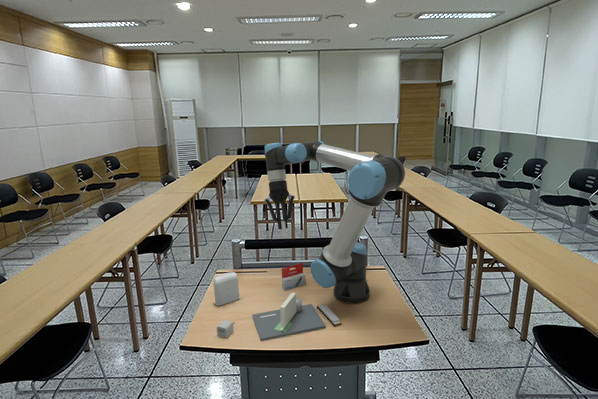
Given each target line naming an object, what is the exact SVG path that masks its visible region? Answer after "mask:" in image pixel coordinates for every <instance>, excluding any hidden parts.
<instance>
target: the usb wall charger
mask: <svg viewBox="0 0 598 399" xmlns="http://www.w3.org/2000/svg"><path fill="white" fill-rule="evenodd" d="M234 324H235V321H231V320H226V319H223V320H222V321H221V323H219V324H218V325H217V326H216V333H217V334H216V335H217V337H219V338H225V339H227V338H228V337H229V336H230V334H232V332H233V331H234Z"/></svg>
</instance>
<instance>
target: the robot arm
mask: <svg viewBox="0 0 598 399" xmlns="http://www.w3.org/2000/svg"><path fill="white" fill-rule="evenodd" d="M264 157H265V158H264V159H265V163H266V173H267V180H268V181H269V182H268V189H269V193H268V197H267V198H264V199H263V201H264V202H265V204H266V205H267V207H268V208H267V209H268V211H269V213H270V216H271V219H272V221H273V222H274V221H275V222H277V229H278V230H280V234H281V238H287V230H286V229H288V228H289V226H288V225H289V224H288V221H289V220H290V219H292V212H293V204H294V200H295V198H296V197H295V195H292V194H290V192H289V190H288V182H287V180H286V179H287V174H286V165H292V164H299V163H302V162H307V161H308V162H309V161H314V162H318V163H322V164H326V165H329V166H333V167H336V168H340V169H343V170H347V171H349V173H348V178H347V184H348V194H349V200H348V202H347V205H346V206H345V209H344V212H343V214H342V215H341V218H340V220H339V223H338V225H337V227H336V229H335V231H334V234H333V236H332V238H331V241H330V243H329V244H328V245H326V246H324V248H322V251H321V253H320V256H319V257H317V258H315V259H314V260H313V261H312V262H311V264H310V273H311V276H312V278H313V280H314V281H315V283H317V284H318V286H320V287H322V288H323V289H330V288H332V287H333V296H334V299H336V300H337V301H340V302H342V303H346V304H362V303H365V302H366V301H367V300H369V298H370V297H371V296H370V294H371V293H370V292H371V291H370V287H369V284H368V281H367V260H368V259H367V255H368V253H367V252H368V250H367V247H366V245H365V244H363V243H362V242H359V241H358V240H359V238H360V236H361V234H362V232H363V230H364V228H365V227H366V224H367V222H368V220H369V218H370V216H371V214H372V212H373V210H374V208H377V207H379V206H380V205H381V204H382V202H383V200H384V198H385V196H386V195H387V193H388V192H391V191H394V190H395V189H398V188H399V187H400V186H401V185H402V184H403V183H404V180H405V176H406V170H405V167H404V164H403V163H402V161H400V159H398V158H396V157H393V156H390V155H384V154H380V153H376V154H375V155H371V154H367V153H364V152H359V151H354V150H349V149H345V148H341V147H337V146H332V145H328V144H325V143H324V141H321V140H313V141H309V142H308V141H307V142H302V143H301V142H294V143H290V144H287V145H284V146H283V144H282V143H281V142H273V143H267V144H266V145H264ZM287 199H288V201H287ZM286 201H287V206H286ZM271 202H273V203H274V205H275V211H274V207H273V205H272V203H271Z"/></svg>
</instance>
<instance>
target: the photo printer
mask: <svg viewBox="0 0 598 399" xmlns="http://www.w3.org/2000/svg"><path fill="white" fill-rule="evenodd" d="M212 282H213V292H214V300H215V303H214V304H215V305H216V306H223V305H226V304H229V303H233V302H235V301H237V300H239V299H240V291H239V287H240V286H239V278H238V275H237V273H236V272H233V271H232V272H226V273H222V274H219V275H217V276H216V277H214V278H213V281H212Z"/></svg>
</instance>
